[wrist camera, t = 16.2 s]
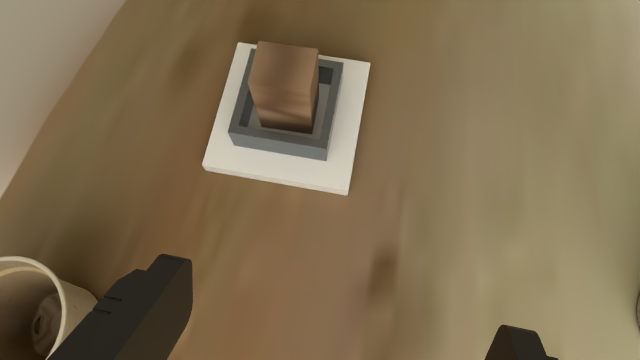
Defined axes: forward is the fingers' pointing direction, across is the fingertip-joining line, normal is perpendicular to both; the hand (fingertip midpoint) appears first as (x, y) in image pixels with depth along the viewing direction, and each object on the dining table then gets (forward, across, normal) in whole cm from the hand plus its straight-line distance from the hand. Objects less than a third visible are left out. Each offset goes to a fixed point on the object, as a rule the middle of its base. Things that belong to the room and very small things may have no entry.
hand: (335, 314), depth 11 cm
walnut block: (+31, +8, +5) cm, 32 cm away
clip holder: (+32, +8, +6) cm, 34 cm away
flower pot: (+16, +22, +23) cm, 35 cm away
